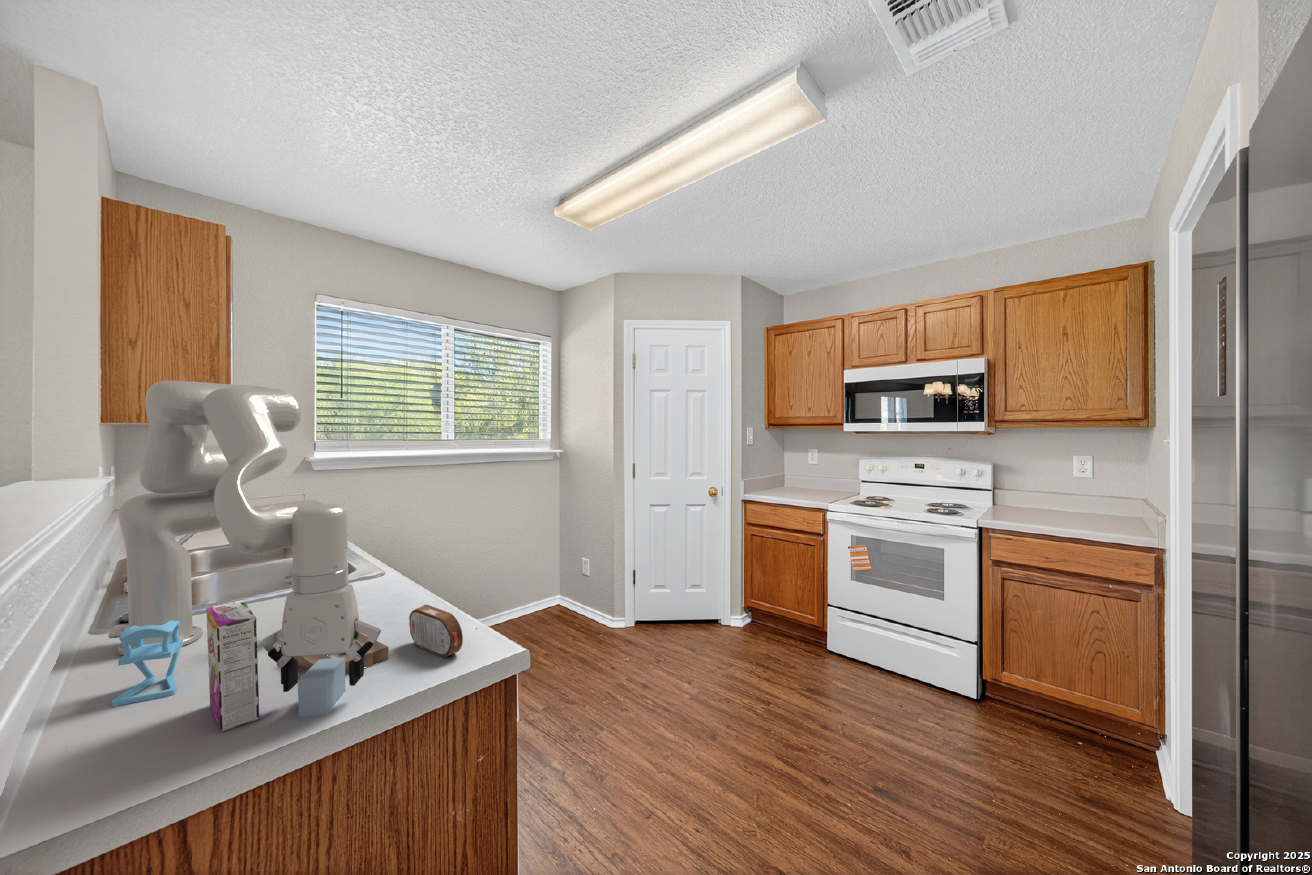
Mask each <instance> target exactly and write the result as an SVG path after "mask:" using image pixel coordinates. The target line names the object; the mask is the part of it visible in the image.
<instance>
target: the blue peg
mask: <svg viewBox="0 0 1312 875" xmlns="http://www.w3.org/2000/svg"><path fill="white" fill-rule="evenodd" d="M345 691H346V676H345V658H338V657H334V658H333V657H331V659H319V660H318V661H317V662H316V663H315V664H314V665H313V666H312V667H311V668H310V669H309V670H308V671H307V672H304V673H303V675H301V676H300V677H298V683H297V701H298V702H297V704H298V706H297V708H298V711H297V712H298V713H297V714H298V718H301V717H302V718H305V717H315V716H324V715H325V716H326V715H328V713H329V712H330V711H331V710H332V709H333V708H334V706H335V705H336V704H337V703H338V701H339V700H340V699H341V698H342V697H343V695H344V694H345V693H346V692H345ZM343 693H344V694H343ZM340 697H341V698H340ZM336 702H337V703H336Z"/></svg>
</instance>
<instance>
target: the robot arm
mask: <svg viewBox="0 0 1312 875" xmlns="http://www.w3.org/2000/svg"><path fill="white" fill-rule="evenodd" d="M144 398H145V399H144V407H145V412H146V415H147V419H148V425H149V428H148V429H149V430H148V434H147V438H146V443H145V447H144V452H143V455H142V456H143V457H142V461H141V465H140V469H139V470H140V471H139V481H140V484H141V487H143V489H145V490H146V491H148V492H150V493H144V494H140V495H137V496H134V497H130V498H129V499H128V500H126V501H124V502H123V503H122V505H120V508H119V509H118V510H119V511H118V520H119V526H120V530H121V533H122V537H123V542H124V546H125V555H126V557H125V558H126V574H127V606H128V607H127V609H128V610H127V611H128V616H127V617H128V618H127V619H128V624H120V625H119V624H118V625H117V624H116V625H114V626H112V628H111V631H109V633H108V635H107V637H108V639H119V638H120V635H121V633H122V632H123V631H124V630H125V629H127V628H129V627H131V626H138V627H139V626H141V627H142V626H147V625H164V624H166V623H167V622H168V621H180V627H179V630H178V638H179V639H183V644H182V647H183V646H187V645H189V644H191V643H193V642H195V641H197V640H199V638H201V637H202V636H203V628H202V627H201V626H196V625H193V596H192V593H193V592H192V591H193V590H192V585H193V584H192V557H191V554H190V553H189V552H190V551H188V549H187V548H186V547H185V546H184V545H182V544H180V543H179V541H177V540H176V538H177V537H180V536H185V535H190V534H197V533H204V532H209V531H214V530H215V531H216V530H217V529H221V530H222V532H223V534H224V536H225V538H226V540H227V541H228V543H229V544H230V545H231V547H232V548H233V549H234V550H235V551H237V552H238V553H241V554H244V555H255V554H261V553H267V552H272V551H276V550H282V549H285V548H286V549H287V548H292V573H291V575H286V576H284V579H283V583H284V585H290V586H291V590H292V591H290V592H288V593H287V594H286V598H285V602H284V608H283V613H282V621H281V622H282V623H281V628H280V629H279V630H277V631H275V632H273V633H271V634H269V635H266V637H265V638H263V639H262V640H260V641H261V645H262V647H263V648H264V649H265V651H266V652H267V656H268V657H269V658H270V659H272V660H273V661H274V662H275V663H276V666H277V667H278V668H280V684H281V685H282V687H283V688H282V692H283V693H286V692H289V691H291V690H292V689H293V688H294V687H295V685H298V679H299V668H298V661H297V659H294V657H306V656H319V655H328V656H331V655H339V654H340V655H341V654H342V653H345V655H349V656H350V657H351V658H352V660H351V661H350V663H349V674H348V679H349V680H348V684H349V686H350V687H355V686H356V684H357V683H358V682H359V681H360V679H362V678H363V676H364V674H365V668H364V655H365V654H366V653H367V652H368V651H369V650H370V649H371V648H372V646H373V645H374V644H375V642H376V641H378V639H379V636H380V634H381V632H382V630H381V628H380V627H376V626H374V625H372V624H369V623H367V622H364V621H362V620H360V617H359V616H360V615H359V608H358V601H357V597H356V594H355V589H354V586H353V584H349V553H348V552H349V548H348V547H349V546H348V539H349V538H348V512H347V510H346V508H345V507H344V506H342V505H339V504H331V503H329V504H326V503H325V502H322V501H319V500H315V499H304V500H296V501H288V502H278V503H271V504H263V505H256V506H251V505H250V503H249V502H248V500H247V498H246V496H245V493H244V490H243V487H242V486H243V485H245V484H247V483H249V482H251V481H254V480H256V479H258V478H260V477H262V476H265V475H266V474H268V473H270V472H272V471H274V470H275V469H277V468H278V467H279V466H281V465H282V464H283V463H284V462H285V460H286V458H287V456H288V449H287V447H286V445H285V442H283V439H282V438H281V436H280V434H279V433H287V432H291V431H293V430H295V429H296V428H297V427H298V425H299V424H300V423H301V419H302V410H301V406H300V403H299V401H298V400H297V399H296V397H295V396H294V395H293V394H292V393H290V392H288V391H286V390H285V389H279V388H278V389H277V388H270V387H264V386H257V385H249V384H248V385H246V384H245V385H244V384H232V383H231V384H230V383H219V382H217V383H216V382H204V381H203V382H201V381H189V380H187V381H186V380H161V381H157V382H155V383H153V384H151V386H150V387H149V388H148V390H147V392H146V394H145V397H144ZM207 427H210V429H211V432H212V434H213V436H214V437H215V440H216V442H217V445H206V442H207V439H208V428H207ZM172 633H173V632H172ZM172 633H171V635H170V636H169V640H168V641H172ZM359 633H361V634H363V635H366V636H368V639H367V641H366V643H365V644H364V645H362V644H361V643H360V642H359V641H358V639H359ZM163 639H164V638H145V639H143V645H144V644H155V643H161V642H163ZM278 640H280V645H278ZM128 644H129V645H130V647H131V649H132V648H133V647H134V646H136V641H132V642H129V643H128ZM117 652H118V654H119V655H122V656H124V654H125V649H124V647H123V645H122V643H120V644H119V645H118V647H117Z"/></svg>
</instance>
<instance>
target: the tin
mask: <svg viewBox="0 0 1312 875" xmlns="http://www.w3.org/2000/svg"><path fill="white" fill-rule="evenodd" d="M408 619H409V623H408V624H409V633H410V635H411V638H412V641H413V642H414V643H415V644H416V646H417V647H418V648H421V649H423V650H426V651H427V650H428V651H427V652H430V653H433V654H434V655H436V654H437V656H439V657H441V656H442V658H447V657H449V656H450V655H451V656H452V655H453V654H456V653H458V652H460V650H461V648H462V646H463V643H464V640H463V638H464V637H463V630H462V627H461V624H460V622H459V620H458V619H457V617H455V615H454V614H452V613H451V612H449V611H446V610H443V609H441V608H438V607H435V606H432V605H429V604H423V605H422V606H419V607H417V608H415V609H413V610H412V611H411V612H410V614H409V616H408Z"/></svg>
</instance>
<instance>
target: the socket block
mask: <svg viewBox="0 0 1312 875" xmlns="http://www.w3.org/2000/svg"><path fill="white" fill-rule="evenodd" d="M367 639H368V636H367V635H365V634H362V633H359V639H358V641H359V642H360V643H361V644H362V645H364V644H365V643H366V641H367ZM331 658H332V657H331V656H330V655H328V656H327V655H319V656H306V657H294V659H297V661H298V669H300V670H301V671H303V672H304V673H306V672H307V671H308V670H309V669H310V668H311V667H312V666H313V665H314V664H315V663H316V662H317V661H318V660H319V659H331ZM337 658H345V675H346V676H348V675H349V663H350V661H351V660H352V658H351V657H350V656H349V655H347V654H345V655H342V656H339V657H337ZM387 659H388V660H389V646H388V645H387V644H384V643H382V642H380V641H378V640H376V642H375V644H374V645H373V646H372V648H371V649H370V650H369V651H368V652H367V653H366V654H365V655H364V667H367V668H369V667H372V666H374V664H375V665H377V664H379V663H382V661H383V662H385V661H388V660H387ZM376 663H377V664H376ZM371 665H372V666H371ZM368 666H369V667H368ZM347 674H348V675H347Z"/></svg>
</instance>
